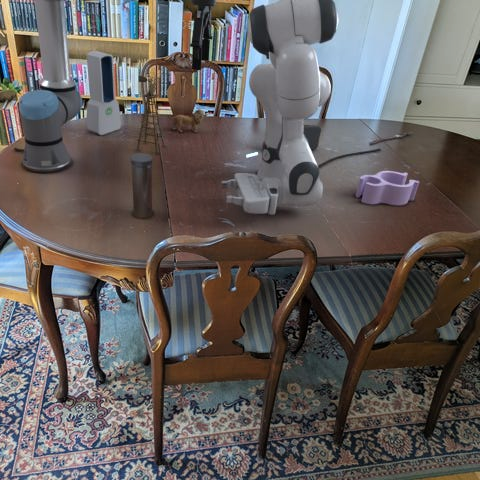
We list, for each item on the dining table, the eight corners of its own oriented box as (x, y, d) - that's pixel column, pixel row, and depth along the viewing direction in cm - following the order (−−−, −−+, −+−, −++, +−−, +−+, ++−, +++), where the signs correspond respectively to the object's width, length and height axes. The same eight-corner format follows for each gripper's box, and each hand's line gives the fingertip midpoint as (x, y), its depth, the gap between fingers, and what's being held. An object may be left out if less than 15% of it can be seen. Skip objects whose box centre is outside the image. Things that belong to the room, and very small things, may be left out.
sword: (408, 132, 223) (408, 130, 222) (413, 134, 221) (414, 132, 220) (365, 144, 207) (365, 141, 206) (370, 146, 205) (370, 144, 204)
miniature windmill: (157, 154, 175) (156, 71, 159) (135, 150, 176) (133, 68, 160) (165, 145, 182) (165, 66, 166) (144, 142, 183) (143, 62, 167)
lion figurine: (201, 127, 203) (202, 107, 198) (204, 132, 199) (205, 111, 194) (168, 129, 198) (168, 108, 193) (170, 133, 194) (171, 112, 189)
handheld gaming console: (315, 147, 196) (319, 124, 190) (317, 149, 194) (322, 126, 188) (264, 149, 189) (267, 125, 183) (266, 152, 187) (269, 127, 181)
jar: (155, 215, 138) (155, 160, 128) (139, 220, 135) (137, 164, 125) (146, 207, 141) (145, 153, 132) (130, 211, 138) (128, 157, 129)
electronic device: (99, 136, 184) (93, 56, 168) (85, 131, 187) (78, 52, 171) (121, 128, 194) (118, 52, 177) (108, 124, 197) (103, 48, 180)
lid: (156, 164, 129) (156, 159, 128) (137, 168, 126) (137, 163, 125) (146, 157, 132) (145, 151, 132) (127, 160, 129) (127, 155, 128)
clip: (368, 208, 154) (373, 189, 150) (349, 190, 163) (353, 172, 160) (418, 203, 160) (424, 185, 156) (397, 187, 170) (402, 169, 166)
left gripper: (209, -5, 127) (205, 75, 138) (223, -12, 148) (218, 58, 159) (181, -8, 127) (180, 72, 139) (199, -15, 148) (197, 55, 160)
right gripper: (262, 168, 148) (219, 167, 145) (278, 197, 131) (230, 197, 128) (260, 186, 151) (218, 185, 148) (275, 217, 134) (228, 217, 132)
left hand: (200, 65), depth 149 cm, fingers open, 13 cm apart
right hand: (223, 191), depth 138 cm, fingers open, 8 cm apart
